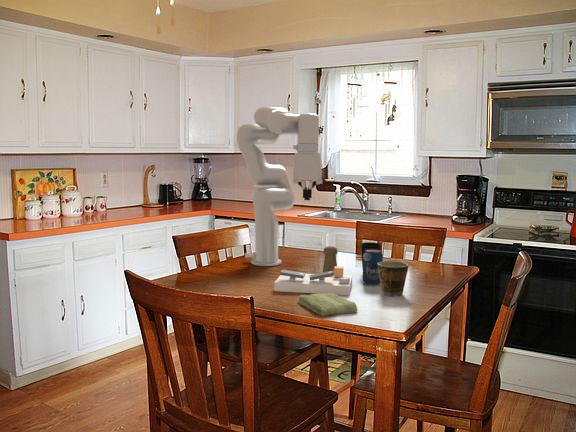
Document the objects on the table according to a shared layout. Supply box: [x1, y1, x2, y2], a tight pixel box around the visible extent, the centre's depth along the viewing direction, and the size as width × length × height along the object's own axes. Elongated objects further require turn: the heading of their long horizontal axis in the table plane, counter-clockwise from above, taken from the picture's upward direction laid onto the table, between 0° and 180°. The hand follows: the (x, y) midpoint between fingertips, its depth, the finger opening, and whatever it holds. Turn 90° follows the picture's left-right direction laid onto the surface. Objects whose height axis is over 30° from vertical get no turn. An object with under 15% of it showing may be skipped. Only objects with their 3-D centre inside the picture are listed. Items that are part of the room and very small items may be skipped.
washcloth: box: [298, 293, 358, 317], centre depth 166 cm, size 13×18×3 cm
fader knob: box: [334, 265, 344, 277], centre depth 191 cm, size 3×3×3 cm
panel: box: [273, 273, 353, 296], centre depth 189 cm, size 25×15×4 cm, turn 80°
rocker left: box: [279, 269, 306, 279], centre depth 186 cm, size 8×4×1 cm, turn 80°
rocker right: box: [310, 271, 334, 280], centre depth 184 cm, size 8×4×1 cm, turn 80°
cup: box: [360, 242, 382, 269], centre depth 208 cm, size 8×8×12 cm
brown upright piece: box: [321, 245, 338, 273], centre depth 207 cm, size 6×6×11 cm
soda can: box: [362, 249, 384, 287], centre depth 195 cm, size 7×7×12 cm
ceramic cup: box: [378, 260, 409, 297], centre depth 180 cm, size 13×10×10 cm
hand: (307, 200), depth 198 cm, fingers closed
